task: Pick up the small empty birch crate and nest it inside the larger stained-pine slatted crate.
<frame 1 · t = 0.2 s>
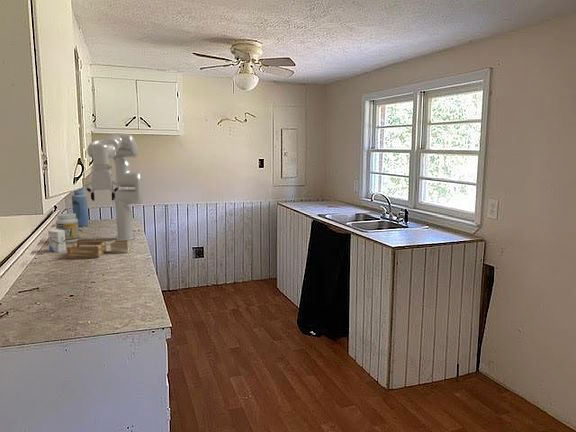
hand: (103, 200, 235), 30 cm above the counter, fingers open, 9 cm apart
supplement tub: (68, 241, 275), on the counter
crate: (87, 255, 241), on the counter
bottle: (81, 226, 327), on the counter
ink box: (57, 251, 251), on the counter
small crate: (120, 251, 249), on the counter
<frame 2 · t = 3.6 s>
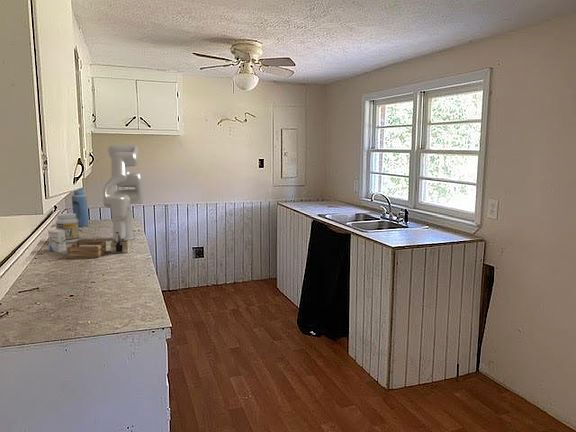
hand: (120, 249, 249), 1 cm above the counter, fingers closed on small crate, 6 cm apart
small crate: (120, 251, 249), on the counter, touching gripper
everything else where it was.
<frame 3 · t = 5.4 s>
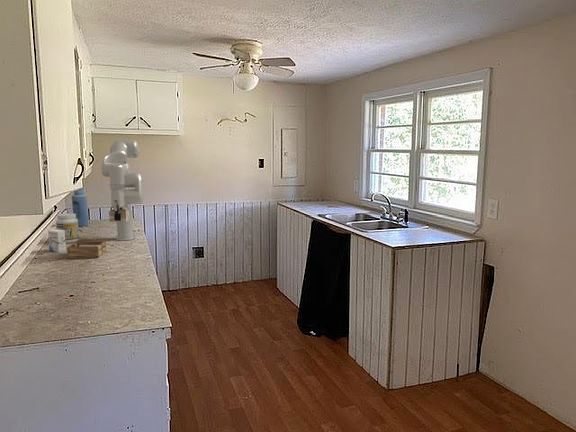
hand: (119, 219, 247), 19 cm above the counter, fingers closed on small crate, 6 cm apart
small crate: (119, 221, 247), point 17 cm above the counter, touching gripper
everything else where it was.
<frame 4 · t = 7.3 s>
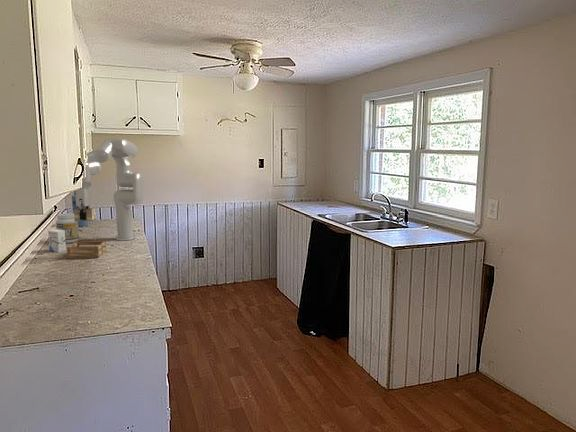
hand: (85, 218, 238), 20 cm above the counter, fingers closed on small crate, 6 cm apart
small crate: (85, 220, 238), point 19 cm above the counter, touching gripper
everything else where it was.
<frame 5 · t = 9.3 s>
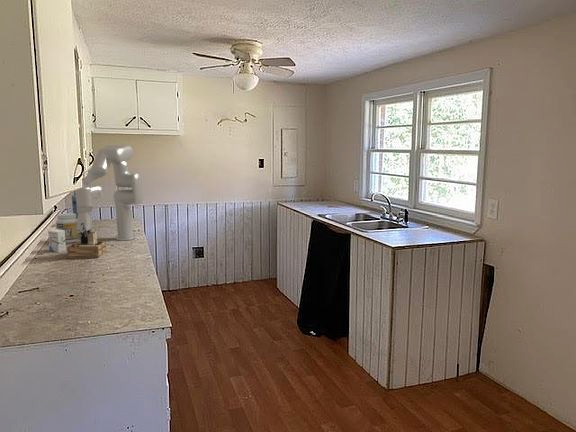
hand: (86, 242, 240), 7 cm above the counter, fingers closed on small crate, 6 cm apart
small crate: (86, 244, 240), point 6 cm above the counter, touching gripper
everything else where it was.
when the fingers open (4 cm above the counter, at t = 11.1 s): small crate drops 1 cm, resting on crate.
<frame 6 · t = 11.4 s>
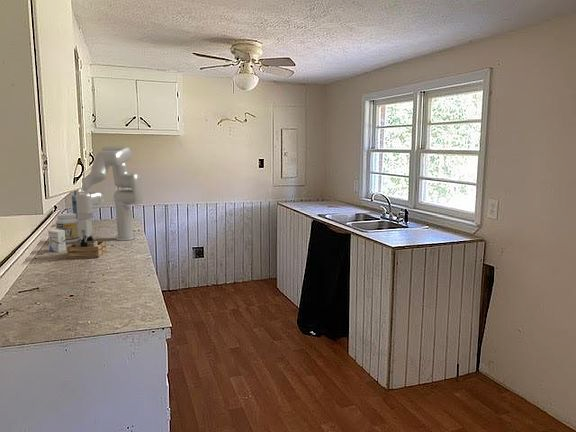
hand: (87, 247, 241), 4 cm above the counter, fingers open, 9 cm apart
small crate: (87, 253, 241), point 1 cm above the counter, touching crate
everything else where it was.
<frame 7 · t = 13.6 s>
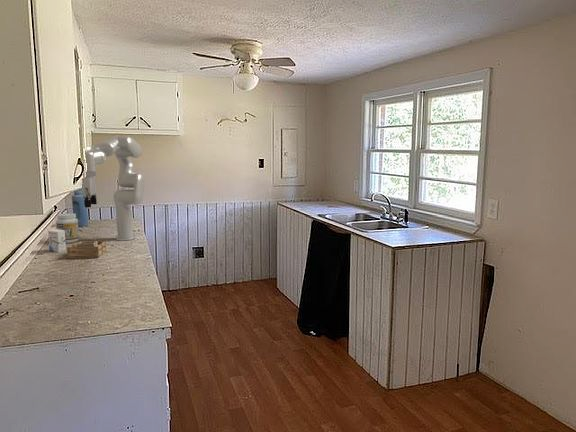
hand: (90, 205, 243), 26 cm above the counter, fingers open, 9 cm apart
nothing on the counter moved.
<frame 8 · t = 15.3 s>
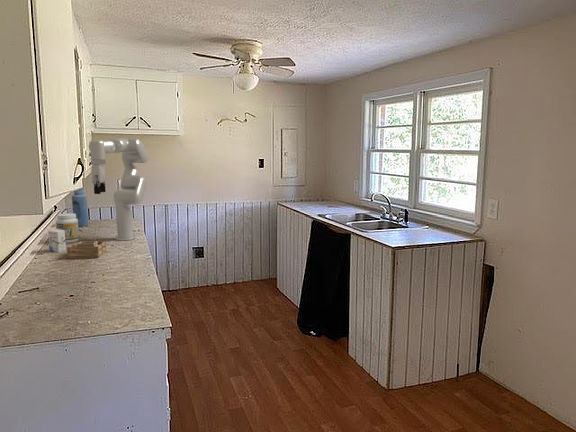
hand: (100, 193, 252), 32 cm above the counter, fingers open, 9 cm apart
nothing on the counter moved.
at the end: small crate inside the target area on the crate (0.1 cm from its centre), point 1.0 cm above the crate's base; small crate tilted 0°; the gripper is holding nothing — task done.
